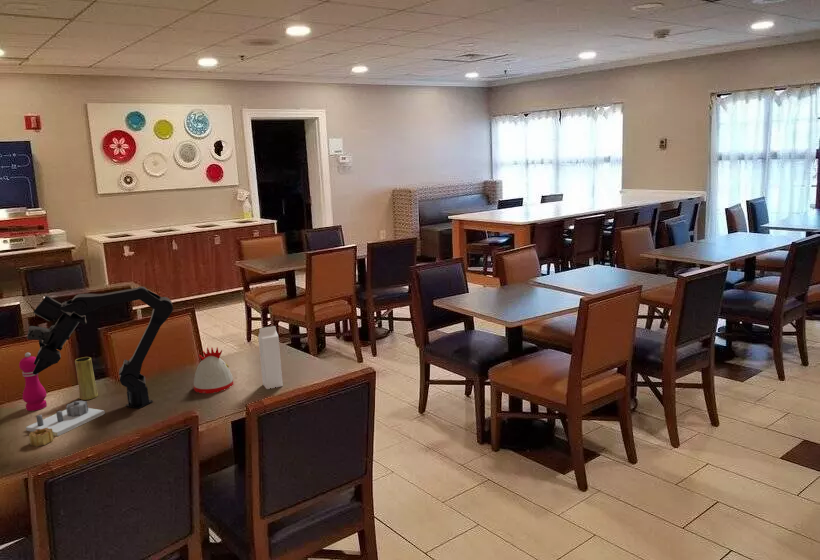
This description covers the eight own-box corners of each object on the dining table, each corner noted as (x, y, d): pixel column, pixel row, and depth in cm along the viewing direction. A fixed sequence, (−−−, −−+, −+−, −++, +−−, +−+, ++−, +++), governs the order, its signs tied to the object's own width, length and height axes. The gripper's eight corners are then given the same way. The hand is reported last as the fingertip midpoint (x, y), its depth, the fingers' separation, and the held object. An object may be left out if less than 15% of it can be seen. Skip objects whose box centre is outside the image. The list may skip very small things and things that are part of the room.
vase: (90, 400, 228) (84, 362, 225) (75, 400, 229) (69, 361, 226) (101, 394, 234) (96, 356, 231) (87, 393, 235) (81, 356, 232)
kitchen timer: (232, 390, 231) (228, 351, 228) (192, 395, 228) (187, 355, 225) (234, 378, 244) (230, 340, 241) (196, 382, 242) (192, 344, 239)
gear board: (105, 413, 215) (102, 399, 214) (57, 436, 199) (55, 420, 198) (75, 409, 220) (72, 394, 219) (26, 430, 204) (23, 415, 203)
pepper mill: (24, 413, 219) (14, 357, 215) (25, 406, 225) (15, 351, 221) (48, 408, 222) (38, 353, 218) (48, 402, 228) (39, 348, 224)
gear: (58, 439, 197) (56, 429, 196) (40, 447, 191) (38, 437, 190) (44, 436, 199) (42, 426, 198) (26, 444, 193) (24, 434, 193)
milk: (262, 384, 236) (256, 326, 232) (278, 381, 238) (273, 323, 234) (266, 389, 230) (260, 330, 226) (283, 386, 233) (277, 327, 229)
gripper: (39, 309, 213) (11, 348, 212) (38, 324, 197) (7, 367, 195) (72, 325, 218) (44, 363, 217) (72, 341, 202) (43, 383, 201)
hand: (34, 369), depth 208 cm, fingers open, 9 cm apart
